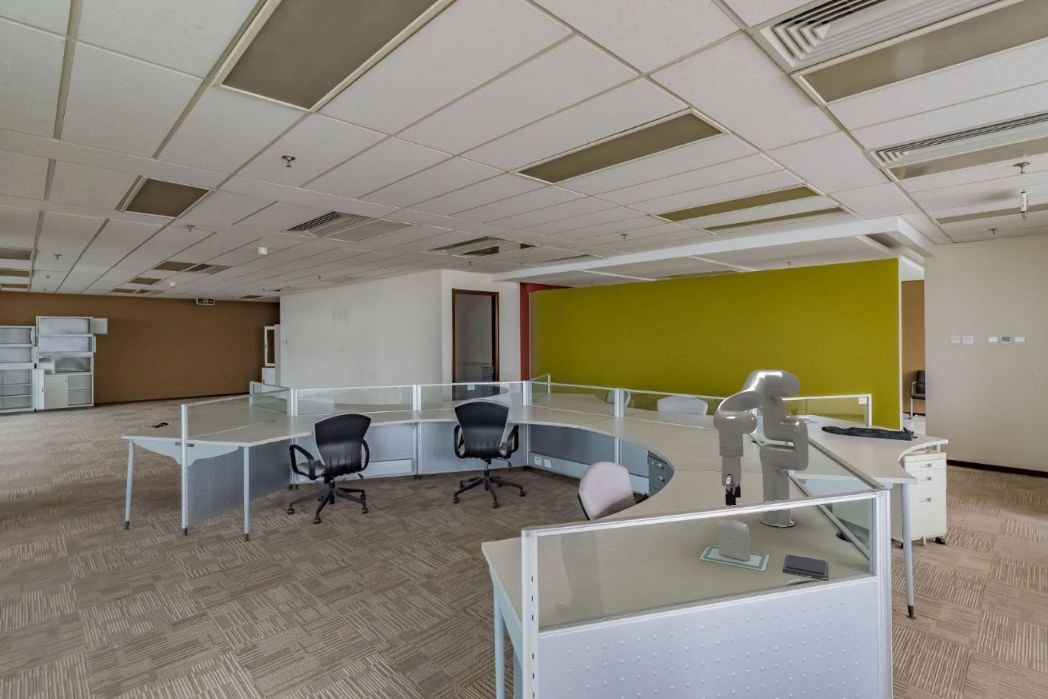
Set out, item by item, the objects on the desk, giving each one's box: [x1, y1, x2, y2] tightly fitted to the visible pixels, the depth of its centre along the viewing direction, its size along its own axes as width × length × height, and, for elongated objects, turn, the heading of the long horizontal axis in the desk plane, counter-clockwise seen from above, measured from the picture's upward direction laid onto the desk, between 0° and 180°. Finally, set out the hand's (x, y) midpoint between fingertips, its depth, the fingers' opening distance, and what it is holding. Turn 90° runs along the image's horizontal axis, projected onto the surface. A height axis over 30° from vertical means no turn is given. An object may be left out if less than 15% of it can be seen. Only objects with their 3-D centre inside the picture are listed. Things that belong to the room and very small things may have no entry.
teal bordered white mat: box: [698, 544, 770, 573], centre depth 170 cm, size 14×20×1 cm
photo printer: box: [717, 518, 751, 561], centre depth 171 cm, size 10×4×12 cm, turn 45°
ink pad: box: [782, 554, 829, 579], centre depth 160 cm, size 12×12×2 cm
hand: (733, 501), depth 171 cm, fingers open, 9 cm apart
